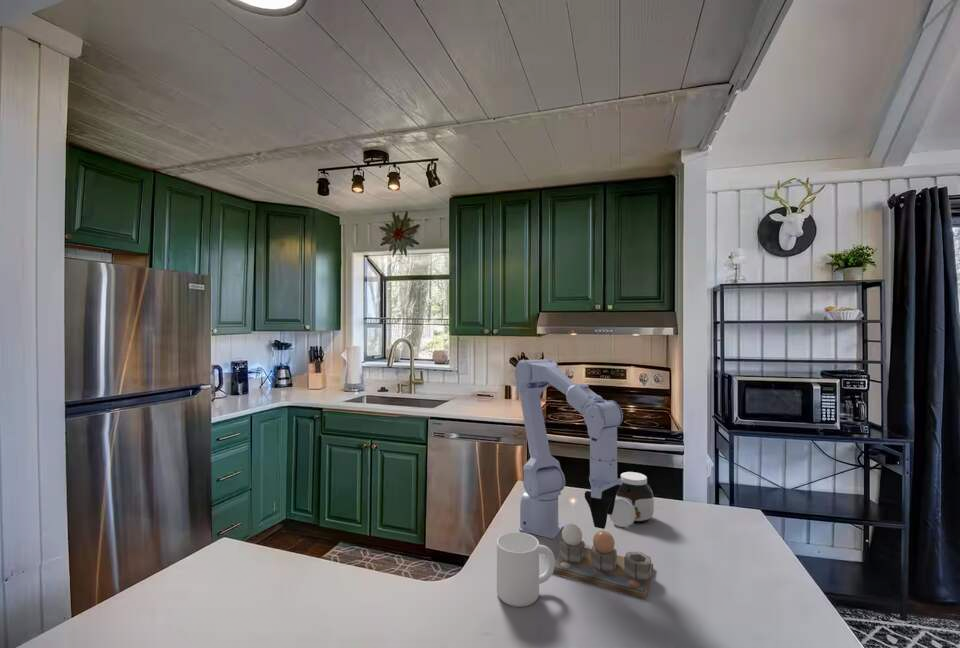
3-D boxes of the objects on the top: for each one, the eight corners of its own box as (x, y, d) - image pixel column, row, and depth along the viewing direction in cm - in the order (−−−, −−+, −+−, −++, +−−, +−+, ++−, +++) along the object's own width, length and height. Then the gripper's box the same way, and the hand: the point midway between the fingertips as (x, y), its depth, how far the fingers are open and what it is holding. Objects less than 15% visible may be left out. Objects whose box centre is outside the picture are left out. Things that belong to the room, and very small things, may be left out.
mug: (546, 577, 90) (546, 527, 90) (564, 601, 82) (563, 547, 82) (491, 585, 87) (491, 534, 87) (504, 611, 79) (504, 555, 79)
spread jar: (651, 514, 120) (650, 472, 120) (658, 533, 109) (658, 487, 109) (606, 510, 123) (606, 469, 123) (609, 528, 112) (609, 483, 112)
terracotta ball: (590, 554, 92) (590, 533, 92) (595, 545, 96) (595, 525, 96) (612, 560, 90) (612, 538, 90) (616, 550, 94) (616, 529, 94)
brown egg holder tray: (551, 572, 91) (551, 553, 91) (567, 547, 102) (567, 530, 102) (646, 599, 82) (646, 578, 82) (653, 568, 93) (653, 550, 93)
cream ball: (559, 546, 95) (559, 526, 95) (565, 538, 99) (565, 518, 99) (579, 551, 93) (579, 531, 93) (584, 542, 97) (584, 522, 97)
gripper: (615, 469, 85) (616, 538, 85) (628, 451, 98) (628, 511, 98) (580, 464, 88) (580, 530, 88) (596, 447, 101) (597, 505, 101)
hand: (603, 520), depth 93 cm, fingers open, 7 cm apart
